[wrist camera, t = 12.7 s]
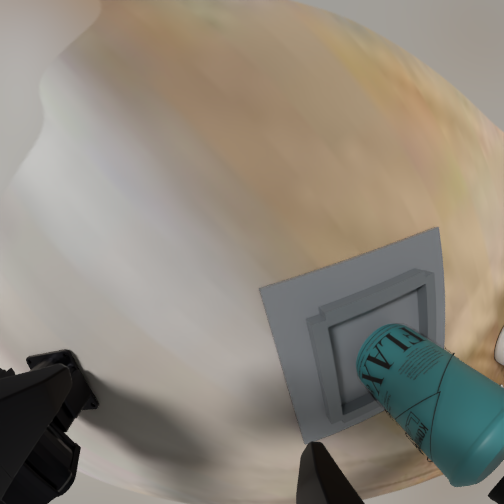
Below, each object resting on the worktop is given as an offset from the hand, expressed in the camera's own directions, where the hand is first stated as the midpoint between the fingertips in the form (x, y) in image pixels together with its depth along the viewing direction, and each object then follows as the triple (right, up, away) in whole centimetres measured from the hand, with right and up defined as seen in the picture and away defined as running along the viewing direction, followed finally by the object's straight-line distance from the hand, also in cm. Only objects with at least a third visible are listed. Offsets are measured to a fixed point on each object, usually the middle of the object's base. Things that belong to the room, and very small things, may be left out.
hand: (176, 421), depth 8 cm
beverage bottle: (+14, -3, +15) cm, 21 cm away
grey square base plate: (+14, -3, +15) cm, 21 cm away
